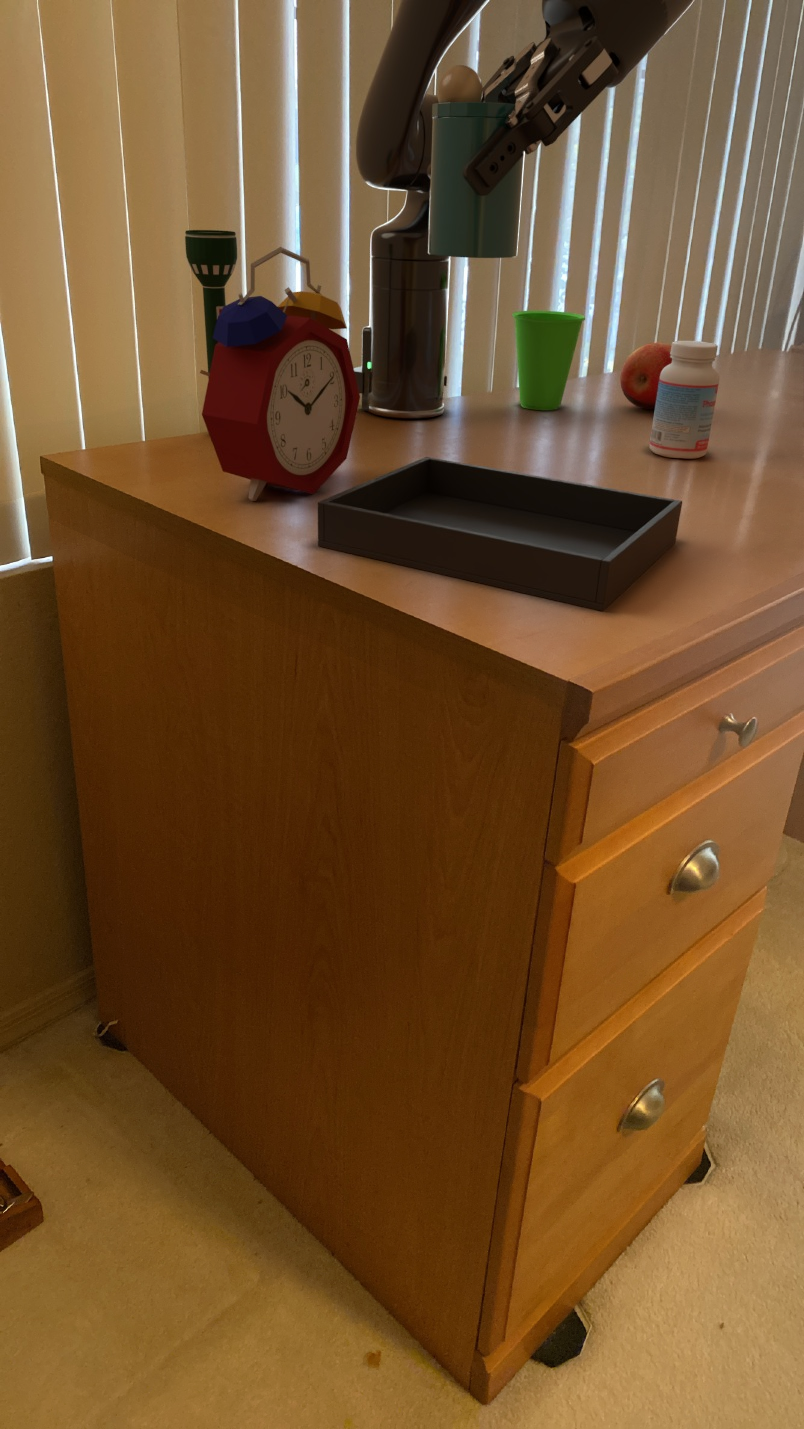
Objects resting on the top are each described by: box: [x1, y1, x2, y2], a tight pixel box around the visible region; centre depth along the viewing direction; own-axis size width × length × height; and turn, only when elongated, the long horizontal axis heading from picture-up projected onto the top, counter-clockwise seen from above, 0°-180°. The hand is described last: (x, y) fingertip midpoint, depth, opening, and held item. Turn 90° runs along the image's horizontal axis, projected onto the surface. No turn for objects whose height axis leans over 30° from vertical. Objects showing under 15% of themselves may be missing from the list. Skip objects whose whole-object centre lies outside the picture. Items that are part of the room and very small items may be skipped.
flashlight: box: [184, 229, 238, 380], centre depth 102 cm, size 5×5×20 cm
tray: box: [317, 456, 683, 612], centre depth 77 cm, size 23×17×4 cm
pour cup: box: [428, 102, 526, 259], centre depth 67 cm, size 6×6×9 cm
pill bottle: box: [648, 340, 720, 460], centre depth 103 cm, size 6×6×11 cm
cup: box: [511, 310, 586, 411], centre depth 124 cm, size 9×9×11 cm
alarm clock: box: [199, 246, 361, 502], centre depth 85 cm, size 15×9×20 cm, turn 148°
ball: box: [437, 64, 484, 103], centre depth 65 cm, size 3×3×3 cm
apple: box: [619, 342, 672, 410], centre depth 125 cm, size 8×8×8 cm
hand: (453, 183), depth 67 cm, fingers closed on pour cup, 6 cm apart
